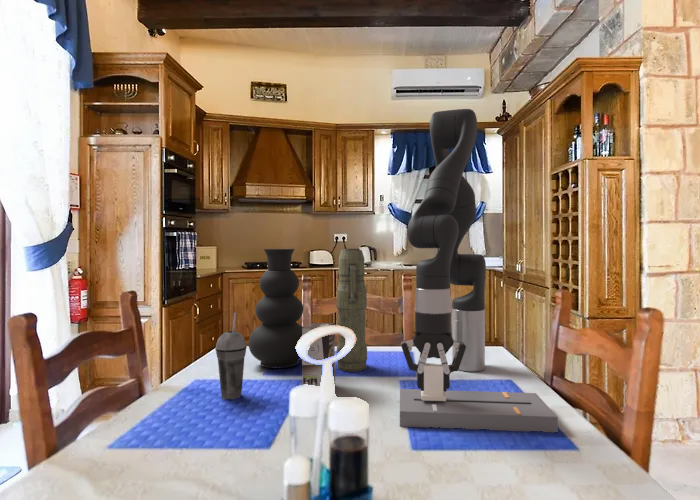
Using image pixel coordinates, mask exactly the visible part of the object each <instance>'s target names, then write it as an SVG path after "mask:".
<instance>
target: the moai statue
mask: <svg viewBox="0 0 700 500" xmlns="http://www.w3.org/2000/svg"><path fill="white" fill-rule="evenodd" d="M365 271H366V269H365V256H364V253H363V250H361V249H360V248H343V249H341V250H340V253H339V257H338V277H339V279H338V285H337V289H336V308H337V313H338V316H337V317H338V319H337V320H338V321H337V322H338V323H337V324H338V325H340V326H345V327H348V328H350V329H352V330H353V331H354V333H355V334H356V337H357V341H356V344H355V346H354V347H353V348H352V349H351V351H350V352H349V353H348V354H347V355H346V356H345V357H343V358H342V359H340V360H338V361H337V367H336V369H338V370H339V371H343V372H349V373H351V372H352V373H354V372H356V373H357V372H361V371H365V370H367V367H368V366H367V365H368V364H367V360H368V346H367V343H366V309H367V306H368V305H367V304H368V303H367V302H368V299H367V298H368V295H367V294H368V293H367V292H368V291H367V286H366V284H365V282H366V281H365ZM336 344H337V346H336V354H337V353H338V352H339V351H340V350H341V349H342V348H343V347H344V345H345V338H344V337H343V336H341V335H339V334H338V341H337V343H336Z"/></svg>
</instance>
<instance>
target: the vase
mask: <svg viewBox="0 0 700 500" xmlns="http://www.w3.org/2000/svg"><path fill="white" fill-rule="evenodd" d="M263 250H264V253H265V255H266V260H267V262H266V263H267V270H265V271H264V273H263V274H262V275H261V277H260V279H259V288H260V291H261V292H262V293H263V294H264V295H263V296H262V297H261V298H260V300H259V301H258V302H257V304H256V305H255V311H254V312H255V315H256V317H257V320H258V321H260V322H261V324H260V325H258V326H257V327H256V328H255V329H254V330H252V332H251V334H249V335H250V336H249V338H248V349H249V351H250V353H251V355H252V356H253V357H254V358H255V359H256V360H257V361H260V365H261V366H262V367H265V368H269V369H286V368H291V367H294V366H296V365H298V364H299V362H300V359H301V360H302V358H300V357H299V356H298V354H297V352H296V349H295V346H296V344H297V341H298V340H299V339H300V337H301V336H302V328H304V327H305V326H304V327H303V326H302V325H301V324H299V323H298V321H299V320H300V319H301V318H302V317H303V315H304V314H303V313H304V304H303V302H302V301H301V300H300V299H299V298H298V297H297V296H296V295H295V293H297V291H298V289H299V286H300V279H299V277H298V275H297V274H296V273H295V271H294V270H292V256H293V253H294V251H295V248H264V249H263Z"/></svg>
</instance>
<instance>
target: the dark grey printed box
mask: <svg viewBox="0 0 700 500" xmlns="http://www.w3.org/2000/svg"><path fill="white" fill-rule="evenodd" d="M327 325H335V323H334V322H311V323H310V324H308V325H306V326H304V328H302V335H303V334H305V333H307V332H308V331H310V330H312V329H314V328H317V327H321V326H327ZM335 326H336V325H335ZM335 338H336V336H335V334H334V335H328V336H325V337H322V338H320V339H318V340H317V341H315V342H314V343H313V344H312V345H311V346H310V348H309V350H308V355H309V356H310V357H311V358H313V359H316V360H322V359H325V358H328V357H331V356H334V355H335V356H336V354H335V353H336V348H335V347H336V346H335V345H336V343H335ZM335 362H336V361H335ZM335 362H334V363H333V364H332V367H333V376H334V381H335V382H336V371H335V370H336V367H335V365H336V363H335ZM321 375H322V365H315V364H311V363H309V362H306V361H304V360H303V359H302V358H301V386H302V385H303V384H308V385H315V386H320V382H321Z"/></svg>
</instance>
